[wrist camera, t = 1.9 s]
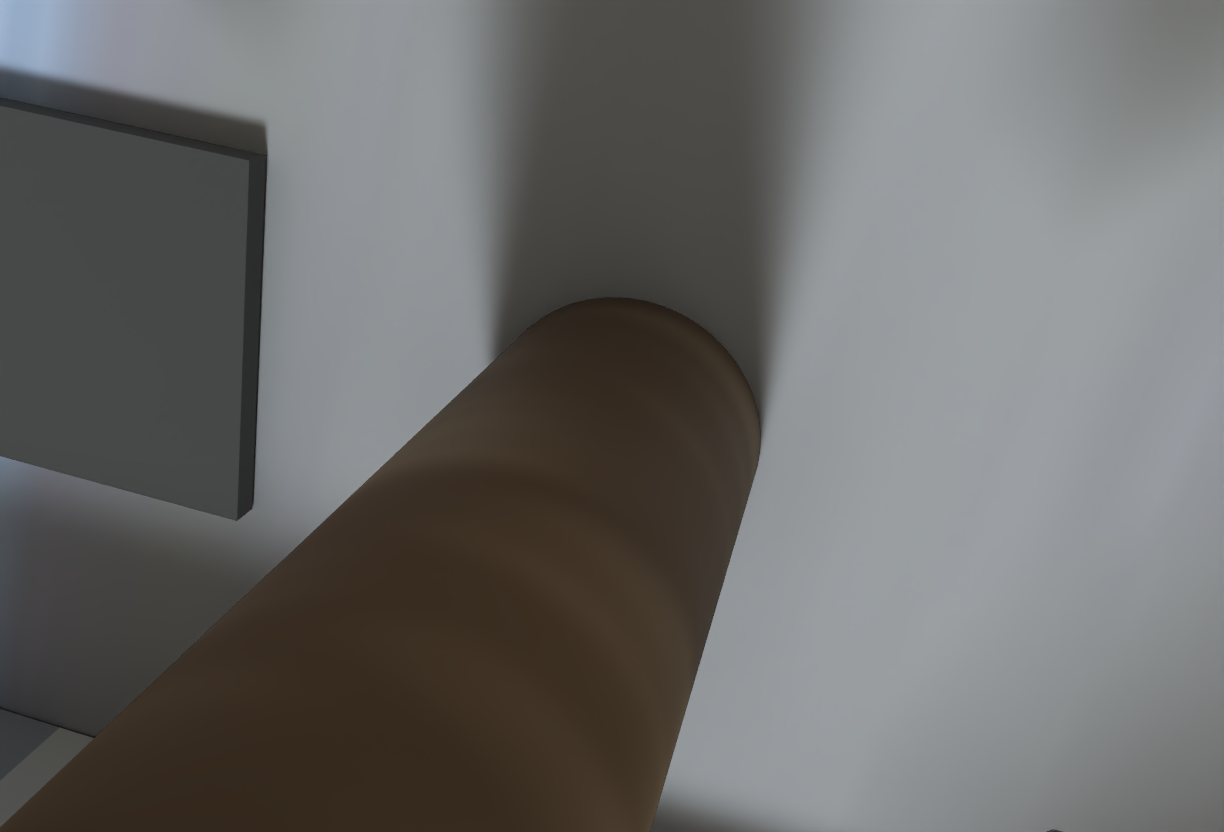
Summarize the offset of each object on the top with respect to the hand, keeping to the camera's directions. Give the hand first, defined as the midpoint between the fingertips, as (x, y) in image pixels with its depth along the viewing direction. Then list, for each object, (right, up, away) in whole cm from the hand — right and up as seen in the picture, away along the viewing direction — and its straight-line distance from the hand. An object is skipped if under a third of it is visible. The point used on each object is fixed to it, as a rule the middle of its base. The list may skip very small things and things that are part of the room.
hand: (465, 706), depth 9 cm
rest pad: (-6, +4, +6) cm, 10 cm away
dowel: (+1, +2, +5) cm, 6 cm away
